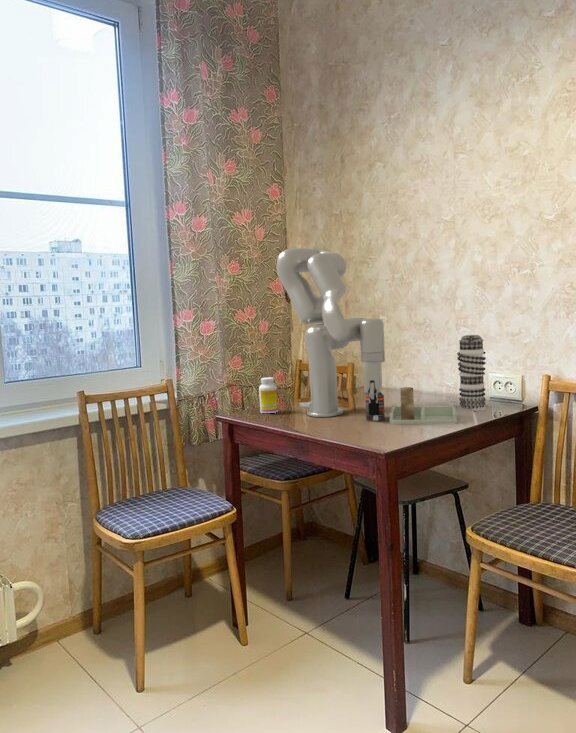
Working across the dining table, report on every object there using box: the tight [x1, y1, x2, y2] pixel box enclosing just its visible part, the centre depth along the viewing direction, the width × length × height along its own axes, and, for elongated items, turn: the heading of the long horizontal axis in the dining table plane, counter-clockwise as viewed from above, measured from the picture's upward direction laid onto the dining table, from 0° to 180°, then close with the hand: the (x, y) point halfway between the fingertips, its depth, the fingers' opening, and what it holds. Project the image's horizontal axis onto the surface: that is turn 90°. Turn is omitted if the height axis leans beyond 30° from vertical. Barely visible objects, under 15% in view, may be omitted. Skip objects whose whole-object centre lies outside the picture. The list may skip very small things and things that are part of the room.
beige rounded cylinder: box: [399, 386, 415, 420], centre depth 184 cm, size 4×4×10 cm
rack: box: [389, 405, 458, 425], centre depth 183 cm, size 20×12×4 cm, turn 76°
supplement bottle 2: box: [365, 390, 386, 423], centre depth 187 cm, size 6×6×11 cm
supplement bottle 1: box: [258, 376, 279, 414], centre depth 211 cm, size 7×7×13 cm
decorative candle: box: [456, 334, 487, 412], centre depth 197 cm, size 9×9×25 cm
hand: (375, 412), depth 187 cm, fingers closed on supplement bottle 2, 6 cm apart
